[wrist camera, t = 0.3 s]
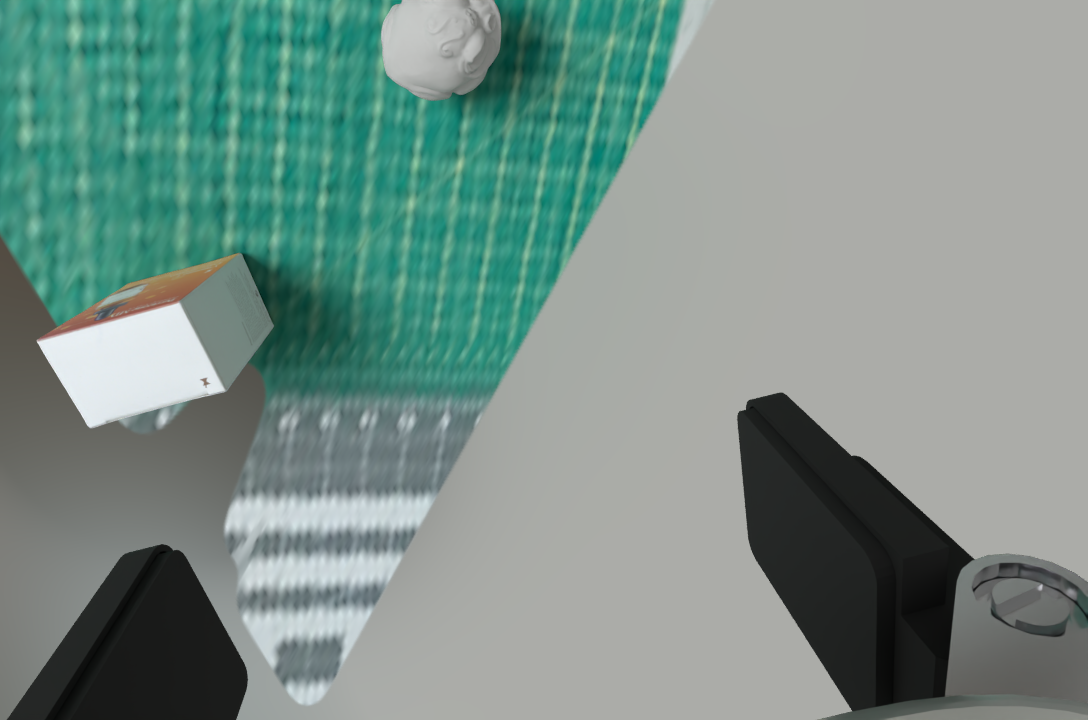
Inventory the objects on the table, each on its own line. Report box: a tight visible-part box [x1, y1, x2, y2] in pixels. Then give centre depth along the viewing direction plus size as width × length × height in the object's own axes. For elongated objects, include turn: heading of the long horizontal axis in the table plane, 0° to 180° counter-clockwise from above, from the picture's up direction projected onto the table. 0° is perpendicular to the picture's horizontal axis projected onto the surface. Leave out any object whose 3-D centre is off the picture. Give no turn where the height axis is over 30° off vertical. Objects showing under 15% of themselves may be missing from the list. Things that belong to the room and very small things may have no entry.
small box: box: [37, 253, 274, 428], centre depth 39 cm, size 8×6×10 cm
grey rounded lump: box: [381, 0, 501, 101], centre depth 37 cm, size 6×7×7 cm
